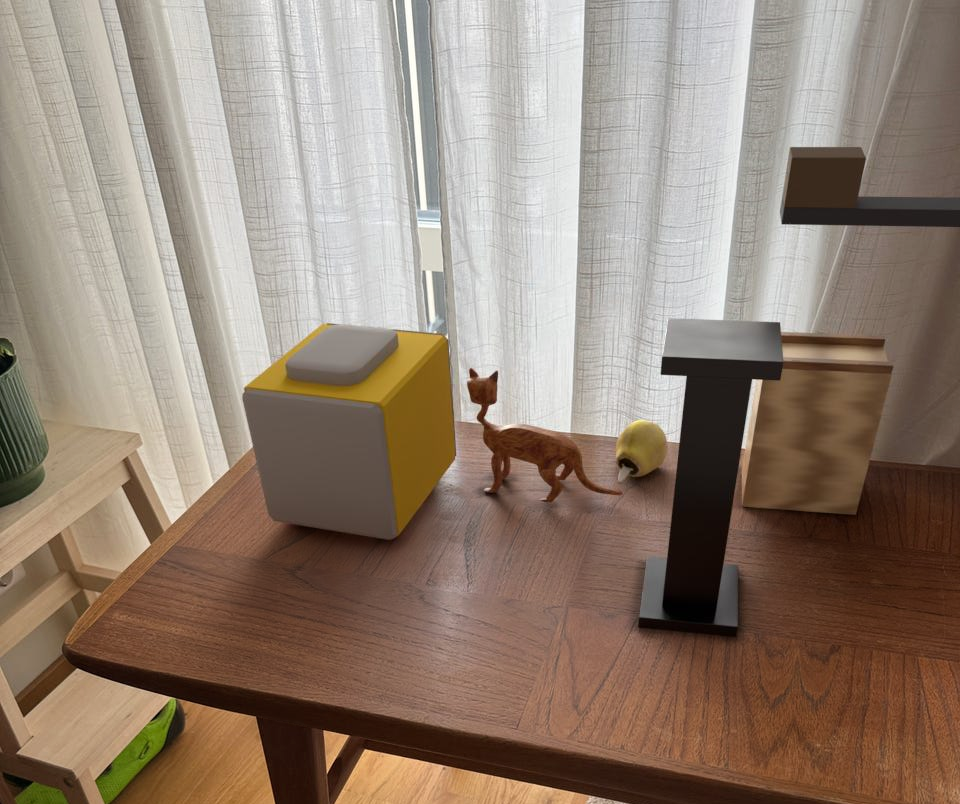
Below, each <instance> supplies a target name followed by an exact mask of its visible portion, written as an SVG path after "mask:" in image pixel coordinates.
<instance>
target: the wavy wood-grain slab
mask: <svg viewBox="0 0 960 804" xmlns="http://www.w3.org/2000/svg"><path fill="white" fill-rule="evenodd" d="M781 338H782V350H783V362H784V363H783V369H782V374H781V380H780V381H777V380H757V379H755V384H754V390H753V398H752V403H751V410H750V415H749V416H750V417H749V422H748V423H749V424H748V427H747V428H748V429H747V435H746V442H745V448H744V455H743V460H742V466H741V507H745V508H757V509H770V510H771V509H772V510H784V511H797V512H810V513H823V514H824V513H825V514H839V515H851V516H856V515H857V512H858V509H859V505H860V504H859V503H860V500H861V496H862V492H863V489H864V485H865V482H866V481H865V480H866V477H867V474H868V469H869V466H870V461H871V457H872V453H873V450H874V446H875V442H876V438H877V434H878V430H879V426H880V423H881V419H882V415H883V410H884V407H885V403H886V399H887V395H888V391H889V387H890V383H891V379H892V377H893V374H892V373H893V370H894V363H893V361H889V360H888V356H887V353H886V350H885V347H884V346H885V345H886V344H885V343H886V335H877V334H875V335H873V334H849V333H848V334H847V333H846V334H845V333H825V332H824V333H823V332H821V333H820V332H798V331H797V332H795V331H781Z"/></svg>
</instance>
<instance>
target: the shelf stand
mask: <svg viewBox="0 0 960 804" xmlns="http://www.w3.org/2000/svg"><path fill="white" fill-rule="evenodd" d="M781 330H782V329H781V322H780V321H759V320H758V321H756V320H755V321H753V320H731V319H730V320H729V319H728V320H727V319H726V320H725V319H705V318H703V319H702V318H699V319H698V318H675V317H673V318H672V317H669V318H667V323H666V329H665V335H664V341H663V348H662V355H661V364H660V375H661V376H675V377H686V378H685V385H684V397H683V404H682V405H683V406H682V415H681V422H680V423H681V424H680V433H679V441H678V442H679V443H678V452H677V461H676V470H675V471H676V472H675V481H674V489H673V498H672V499H673V500H672V509H671V519H670V528H669V535H668V536H669V537H668V545H667V546H668V547H667V554H666V555H667V556H666V557H665V558H664V557H655V556H654V557H653V556H647V557H646V560H645V561H646V563H645V569H644V576H643V583H642V591H641V598H640V599H641V600H640V605H639V614H638V623H637V627H638V628H643V629H655V630H663V631H674V632H684V633H695V634H705V635H713V636H714V635H715V636H724V637H733V638H734V637H735V638H736V637H737V636H738V630H739V564H734V563H725V557H726V551H727V545H728V537H729V531H730V526H731V517H732V511H733V506H734V499H735V492H736V486H737V479H738V475H739V474H738V473H739V469H740V468H739V466H740V460H741V453H742V447H743V441H744V436H745V435H744V434H745V428H746V421H747V415H748V410H749V403H750V395H751V389H752V383H753V380H756V379H757V380H777V381H780V380H781V374H782V369H783V363H784V362H783V350H782V338H781V332H782V331H781Z"/></svg>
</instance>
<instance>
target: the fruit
mask: <svg viewBox="0 0 960 804" xmlns="http://www.w3.org/2000/svg"><path fill="white" fill-rule="evenodd" d="M668 447H669V446H668V440H667V436H666V433H665V432H664V430H663V429H662V428H661V426H660V425H659V424H658V423H655V422H653V421H650V420H647V419H638V420H635V421H633V422H631V423H629V424H628V425H627V426H625V428H624V429H623V430H622V431H621V432H620V434H619V436H618V438H617V441H616V444H615V464H616V466H617V469H619V470H620V471H619V472H618V475H617V476H618V477H617V484H619V485H622V483H624V481H625V480H626V479H627V478H628V476H629V477H631V478H640V477H643V476H646V475H648V474H649V473H651V472H652V471H654V470H656V469H657V468H659V467H660V466H661V465H662V464H663V463H664V462H665V460H666V458H667V456H668Z"/></svg>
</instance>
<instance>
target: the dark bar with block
mask: <svg viewBox="0 0 960 804" xmlns="http://www.w3.org/2000/svg"><path fill="white" fill-rule="evenodd" d="M866 161H867V156H866V155H865V152H864V151H863V148H862V146H790V147H789V149H788V156H787V163H786V170H785V176H784V182H783V189H782V194H781V202H780V208H779V216H780V222H781V225H789V226H791V225H793V226H795V225H797V226H851V227H852V226H855V227H858V226H859V227H916V228H917V227H919V228H923V227H924V228H926V227H928V228H960V197H957V196H956V197H955V196H952V197H951V196H945V197H944V196H943V197H942V196H859V194H860V190H861V187H862V186H861V184H862V181H863V175H864V170H865V165H866Z"/></svg>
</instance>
